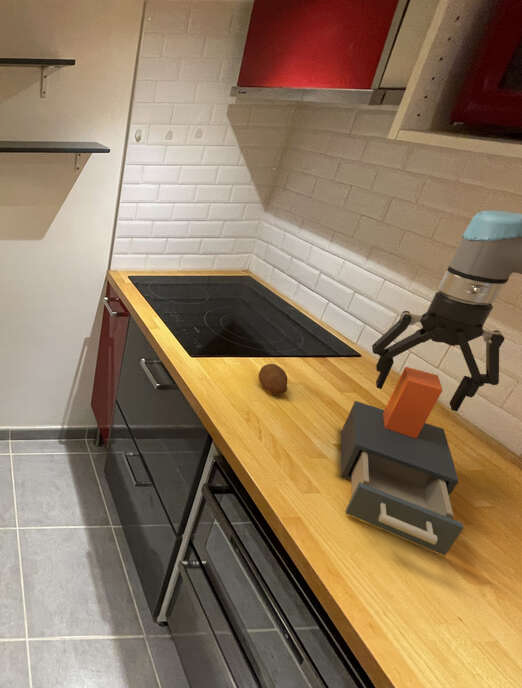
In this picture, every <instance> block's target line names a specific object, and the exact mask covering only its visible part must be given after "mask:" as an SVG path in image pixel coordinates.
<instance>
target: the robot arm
mask: <svg viewBox="0 0 522 688" xmlns="http://www.w3.org/2000/svg"><path fill="white" fill-rule="evenodd" d="M513 273H515V274H521V275H522V213H517V212H512V211H505V210H491V209H490V210H482V211H479V212H477V213H476V214H474V215H473V217H472V219H471V220H470V222H469V223H468V225H467V227H466V229H465V230H464V232H463V233H462V235H461V239H460V241H459V244H458V246H457V248H456V250H455V253H454V254H453V257H452V259H451V261H450V264H449V266H448V268H447V269H446V271H445V273H444V275H443V278H442V280H441V281H440V283H439V286H438V288H437V289H438V290H439V291H437V292H435V294H434V296H433V298H432V300H431V302H430V304H429V306H428V308H427V310H426V311H425V313H423V314H422V315H419V314H415V313H411V312H410V311H408V310H404V311H402V312H401V314H400V317H399V319H398V321H396V322H395V323H394V324H393V325H391V327H390V328H389V329H388V330H387V331H386V332H385V333H384V334H383V335H381V336H380V337H379V338H378V339H377V340H376V341H375V342H374V343H373V344H372V345H371V350H372V353H373V354H374V355H377V356H379V358H378V360H377V362H376V365H375V367H376V372H378V373H379V374H378V376H377V378H376V380H375V384H376V389H380V390H382V389H383V387H384V384H385V382H386V380H387V378H388V376H389V375H390V372H391V370H392V368H393V365H394V363H395V361H394V357H397V356H399V355H401V354H402V353H404V352H406V351H408V350H410V349H413V348H414V347H416V346H418V345H420V344H423V343H426V342H428V341H430V340H431V341H432V342H435V343H444V344H446V345H448V346H452V347H455V346H459V349H460V351H461V353H462V356H463V358H464V361H465V363H466V366H467V369H468V371H469V374H470V376H467V375H464V376H463V378H462V380H461V381H460V383H459V384H458V386H457V388H456V390H455V392H454V394H453V395H452V397H451V399H450V401H449V406H450V409H451V411H453V412H458V411H459V409H460V408H461V406H462V404H463V402H464V401H465V399H466V397H467V398H473V397H475V395H476V393H477V392H478V391H479V388H481V387H483V386H484V385H485V384H488V385H491V386H497V385H499V383H500V348H501V346H502V344H503V343H504V341H505V337H504V335H503V333H502V332H501V331H500V330H497V329H496V330H488V329H484V325H485V324H486V321H487V320H488V318H489V316H490V314H491V313H492V310H493V308H494V306H493V304H494V303H497V301H498V299H499V297H500V295H501V293H502V291H503V289H504V287H505V285H506V283H508V281H509V278H510V277H511V275H512V274H513ZM416 323H420V325H421V326H422V327H421V328H419V329H417V330H416V331H415V332H413V333H412V334H410V335H408V336H406V337H405V338H402V339H400V340H399V341H397V342H395V343H393V342H394V341H395V340H396V339H398V337H399V336H400V335H402V334H403V333H404V332H405V331H406V330H407V329H408V327H409V326H413V325H415V324H416ZM480 337H482V338H483V341H484V343H485V352H486V353H485V373H481V372H480V369H479V367H478V364H477V362H476V359H475V357H474V354H473V351H472V348H471V346H470V344H469V342H470V341H473V340H475V339H478V338H480ZM392 343H393V344H392ZM389 345H390V346H389Z"/></svg>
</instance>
